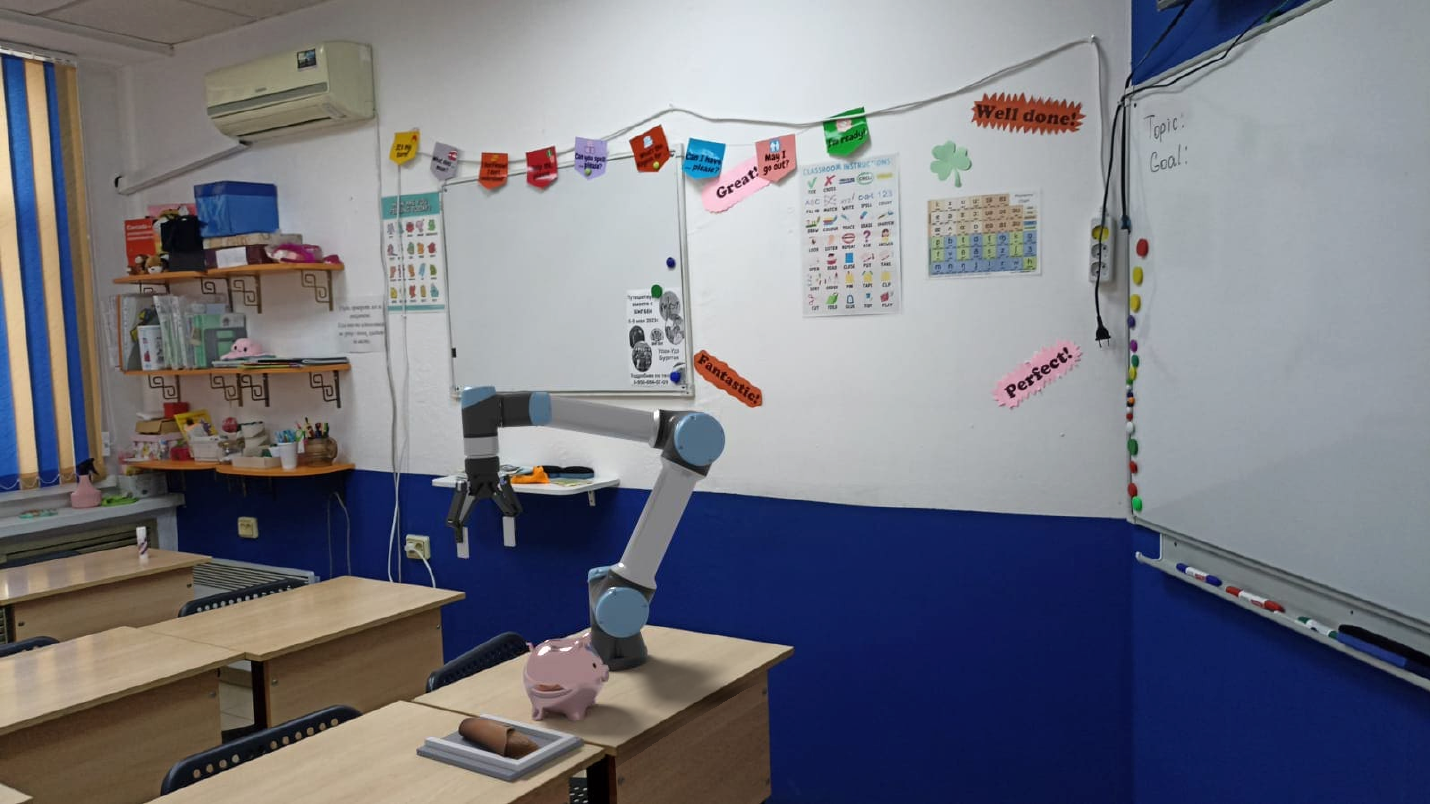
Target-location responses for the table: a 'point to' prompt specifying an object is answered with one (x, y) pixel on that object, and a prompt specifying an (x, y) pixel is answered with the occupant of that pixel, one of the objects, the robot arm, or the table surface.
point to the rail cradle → (492, 764)
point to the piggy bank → (564, 677)
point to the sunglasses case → (497, 737)
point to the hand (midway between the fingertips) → (487, 551)
